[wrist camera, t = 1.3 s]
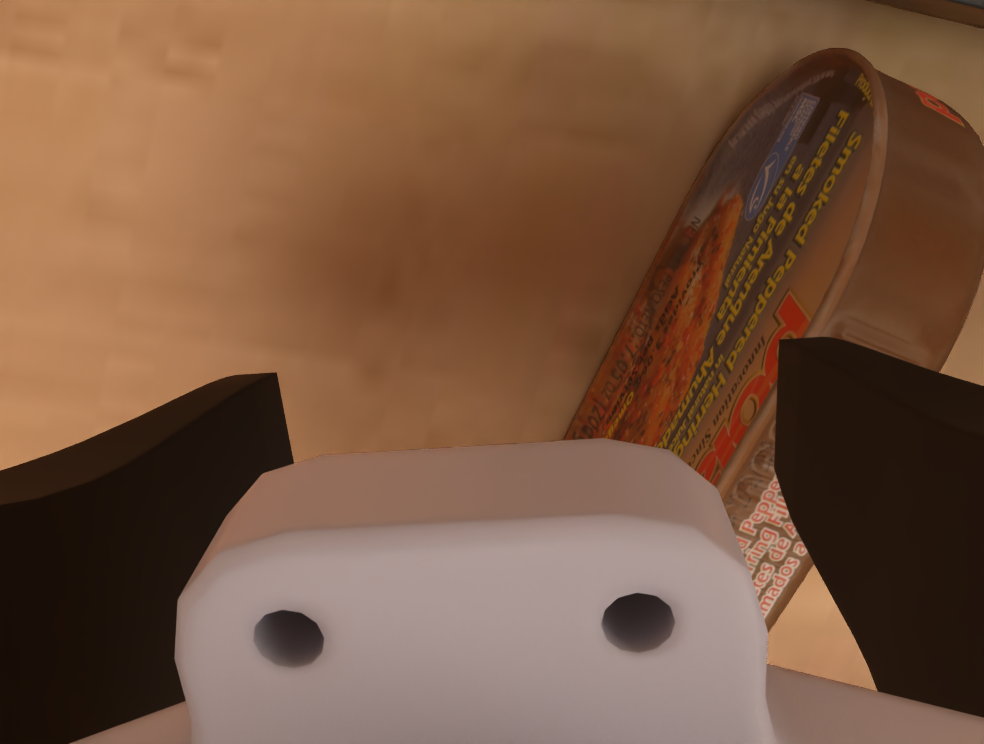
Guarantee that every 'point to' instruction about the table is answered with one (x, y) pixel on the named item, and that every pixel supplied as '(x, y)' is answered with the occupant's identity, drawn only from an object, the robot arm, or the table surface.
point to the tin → (794, 281)
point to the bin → (944, 9)
